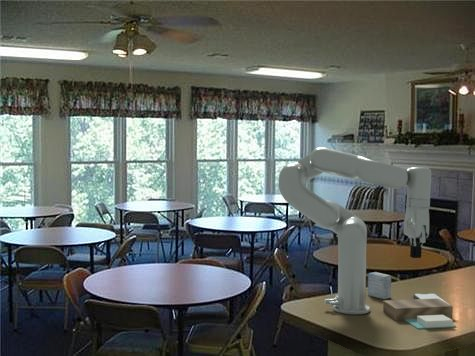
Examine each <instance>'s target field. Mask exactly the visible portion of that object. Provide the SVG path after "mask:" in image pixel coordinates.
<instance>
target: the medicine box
mask: <svg viewBox="0 0 475 356" xmlns="http://www.w3.org/2000/svg"><path fill="white" fill-rule="evenodd" d="M391 289H392V275H390V274H386V273H381V272H377V271H374V272H369V273H367V296H370V297H373V298H379V299H381V300H387V299H391V298H392V290H391Z"/></svg>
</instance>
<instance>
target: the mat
mask: <svg viewBox="0 0 475 356" xmlns="http://www.w3.org/2000/svg"><path fill="white" fill-rule="evenodd" d="M404 322H406V323H408V324H409V325H411V326H412V327H414V328H415V329H417V330H427V329H445V328H446V329H448V328H457V325H455V324H454V323H453V326H451V327H430V328H426V327H424V326H423V325H421V324H419V323H418V322H417V319H405V320H404Z"/></svg>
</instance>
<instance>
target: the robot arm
mask: <svg viewBox="0 0 475 356" xmlns="http://www.w3.org/2000/svg"><path fill="white" fill-rule="evenodd" d="M323 173H325V174H330V175H335V176H339V177H341V178H347V179H349V180H353V181H354V180H355V181H358V182H359V181H360V182H365V183H369V184H372V185H378V186H382V187H385V188H390V189H394V190H399V189H402V188H404V187H406V189H407V190H406V208H405V213H404V220H403V234H404V235H405V236H407V237H408V239H409V244H410V250H409V251H410V253H409V254H410V255H409V256H410V258H412V259H421V258H422V251H423V250H422V247H423V244H424V243H426V240H427V239H428V237H429V235H430V212H429V211H430V209H431V208H430V206H431V188H432V187H431V186H432V170H431V169H430V168H429V167H427V166H426V167H423V166H412V167H407V166H401V165H393V164H388V163H385V162H380V161H375V160H373V159H370V158H366V157H364V156H361V155H359V154H354V153H350V152H345V151H341V150H337V149H332V148H328V147H325V146H324V147H323V146H320V147H319V146H318V147H316V148H314V149H313V150H312V151H311V152H310V153H309V154H307V155H305V156H304V157H302V158H300V159H298V160H296V161H293V162H291V163H288V164H286V165H284V166H283V167H282V168H281V170H280V172H279V174H278V189H279V192H280V194H281V196H282V198H283V200H284V201H285V202H286V203H288V205H290V206H291V207H292V208H293V209H295V210H296V211H298V212H299V213H301V214H302V215H303V216H305V217H306V218H307V219H309V220H310V221H312V222H313V223H314V224H315V225H317V226H319V227H320V228H322V229H325V230H330V231H332V232H333V233H334V234H337V253H338V254H337V256H338V258H337V263H338V264H337V265H338V267H337V268H338V269H337V270H338V272H337V277H338V278H337V295H335V297H333V298H324V300H323V303H324V305H326V306H327V305H330V306H333V307H332V308H333V310H334V311H335V312H337V313H339V314H340V313H341V314H346V315H364V314H368V313H369V312H370V311H371V307H370V305H367V304H366V302H367V301H366V300H367V299H366V298H367V297H366V296H367V294H366V292H367V289H366V286H367V281H366V280H367V240H368V238H367V237H368V236H367V235H368V228H367V226H366V223H365V221H363V219H361V218H360V217H359V216H357V215H356V214H354V213H352V212H351V211H350V210H348V209H346V208H345V207H344V206H342V205H341V204H339V203H337V202H336V201H334V200H329V199H328V200H327V199H326V200H325V199H324V198H323V197H321V196H319V195H318V194H316V193H315V192H314V191H313V190H311V189H309V188H308V187H306V186H305V184H304V183H306V182H309V181H311V180H313V179H314V178H316V177H317V176H319V175H321V174H323Z"/></svg>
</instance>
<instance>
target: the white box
mask: <svg viewBox="0 0 475 356" xmlns="http://www.w3.org/2000/svg"><path fill="white" fill-rule="evenodd" d="M417 322H418V323H419V324H421V325H423V326H424V327H426V328H429V329H431V328H430V327H450V328H452V327H451V326H453V324H454V321H453V318H448V317H446V316H444V315H425V316H417Z"/></svg>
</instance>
